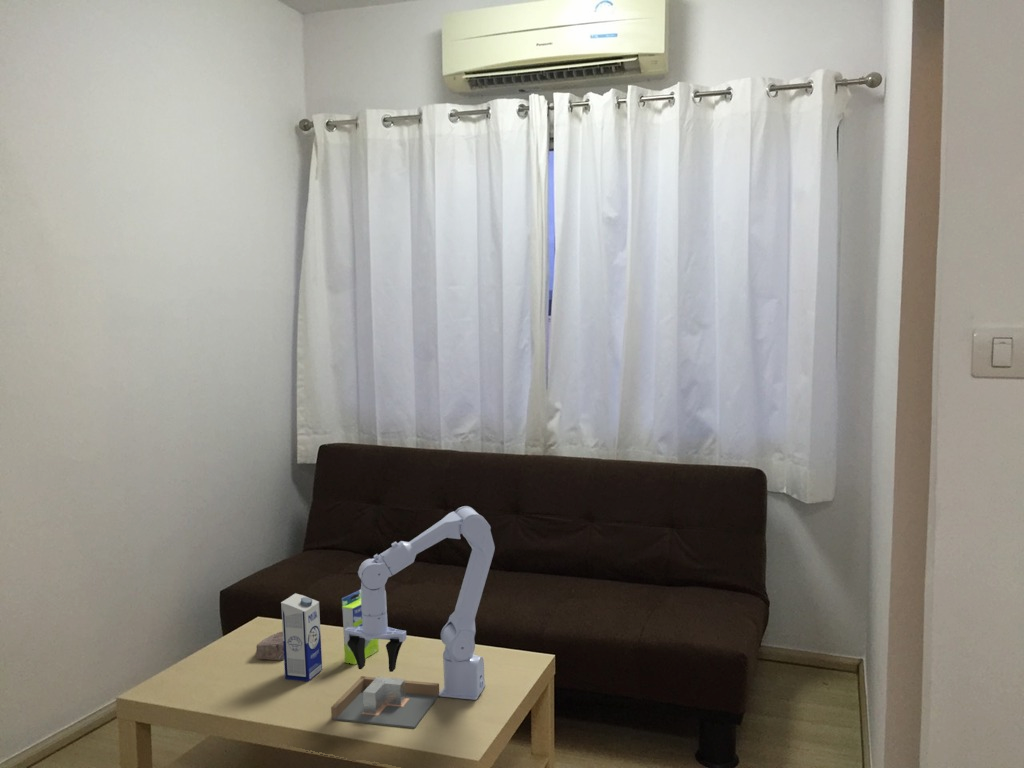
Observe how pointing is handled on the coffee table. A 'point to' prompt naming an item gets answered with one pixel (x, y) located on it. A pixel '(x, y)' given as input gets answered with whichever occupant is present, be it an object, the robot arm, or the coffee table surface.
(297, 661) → the milk carton
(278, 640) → the stone
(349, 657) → the box
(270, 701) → the coffee table surface
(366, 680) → the arena
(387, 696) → the l block
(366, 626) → the robot arm
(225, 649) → the coffee table surface
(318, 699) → the coffee table surface
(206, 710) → the coffee table surface
